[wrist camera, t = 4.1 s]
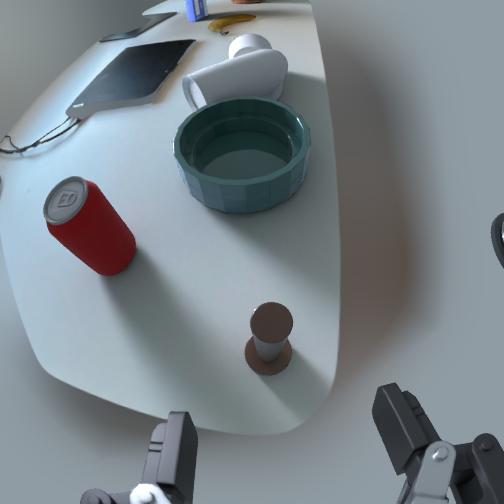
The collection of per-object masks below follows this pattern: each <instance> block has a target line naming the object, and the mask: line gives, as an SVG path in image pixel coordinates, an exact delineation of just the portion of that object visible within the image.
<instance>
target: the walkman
mask: <svg viewBox="0 0 504 504" xmlns="http://www.w3.org/2000/svg"><path fill="white" fill-rule="evenodd" d="M185 3H186V9H187V14H188V20H189V22H196V21H198V20H200V19H202V18H204V17H205V16H207V15H208V12H207V5H206V0H185Z"/></svg>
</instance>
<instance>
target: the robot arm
mask: <svg viewBox="0 0 504 504" xmlns="http://www.w3.org/2000/svg"><path fill="white" fill-rule="evenodd" d="M500 238H501V242H502V246H503V248H504V221H503V222H502V223H501V226H500ZM372 415H373V419H374V422H375V424H376V426H377V429H378V431H379V433H380V436H381V438H382V440H383V443H384V445H385V447H386V450H387V452H388V454H389V457H390V459H391V462H392V464H393V467H394V469H395V472H396V474H397V475H400V474H403V473H405V474H406V476H407V478H406V481H405V483H404V486H403V488H402V491H401V493H400V496H399V498H398V500H397V503H396V504H448V503H449V499H448V498H447V497H446V494H447V490H448V487H449V486H450V488H451V490H452V493H453V495H454V498H455V501H456V504H504V451H503V449H502V447H501V446H500V444H499V442H498V441H497V439H496V438H495V437H494V436H493V435H491V434H488V433H484V434H481V435H479V436H477V437H476V438H475V440H474V441H473V442H471V443H466V444H460V445H452V444H451V443H449V442H447V441H442V440H441V439H440V437H439V436H438V434H437V432H436V430H435V429H434V427H433V425H432V423H431V422H430V420H429V418H428V417H427V415H426V414H425V412H424V410H423V408H422V407H421V405H420V403H419V402H418V400H417V398H416V397H415V396H414V395H412V394H411V393H409V392H408V391H404V392H401V390H400V388H399V387H398V385H397V384H396V383H391V384H387V385H384V386H380V387H378V389H377V393H376V397H375V400H374V404H373V408H372ZM150 442H151V443H150V445H149V449H148V450H149V452H148V454H147V458H146V462H145V467H144V471H143V476H142V480H141V483H140V484H139V486H137V487H135V488H134V489H133V490H132V491H129V492H125V493H116V494H107V493H106V492H104V491H103V490H100V489H90V490H88V491H86V492H85V493H84V494H83V495H82V498H81V501H80V504H192V502H193V501H192V500H193V490H194V479H195V468H196V456H197V447H198V435H197V431H196V429H195V426H194V424H193V422H192V419H191V417H190V414H189V412H173V411H171V412H170V413H169V416H168V420H167V423H159V424H158V426H157V427H156V428H155V429H154V431H153V433H152V437H151V441H150Z"/></svg>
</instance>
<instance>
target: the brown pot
mask: <svg viewBox="0 0 504 504" xmlns="http://www.w3.org/2000/svg"><path fill="white" fill-rule="evenodd" d="M231 1H232V2H233V3H241V4H243V3H256V2H261V1H264V0H231Z"/></svg>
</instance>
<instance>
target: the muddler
mask: <svg viewBox="0 0 504 504" xmlns="http://www.w3.org/2000/svg"><path fill="white" fill-rule="evenodd" d="M250 327H251V331H252V334H253V336H252V337H251V338H250V339H249V340H248V342H247V344H246V347H245V359H246V361H247V363H248V365H249V366H250V368H251V369H252V370H254V371H255V372H256V373H258V374H261V375H266V376H270V375H275V374H277V373H279V372H281V371H282V370H284V369H285V368H286V367H287V365H288V364H289V362H290V360H291V355H292V349H291V345H290V343H289V341H288V339H287V338H288V336H289V334H290V332H291V330H292V327H293V319H292V315H291V313H290V312H289V310H288V309H287V308H286V307H285V306H283V305H282V304H279V303H276V302H267V303H264V304H262V305H260V306H258V307H257V308H256V309H255V310H254V312H253V313H252V316H251V319H250Z"/></svg>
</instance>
